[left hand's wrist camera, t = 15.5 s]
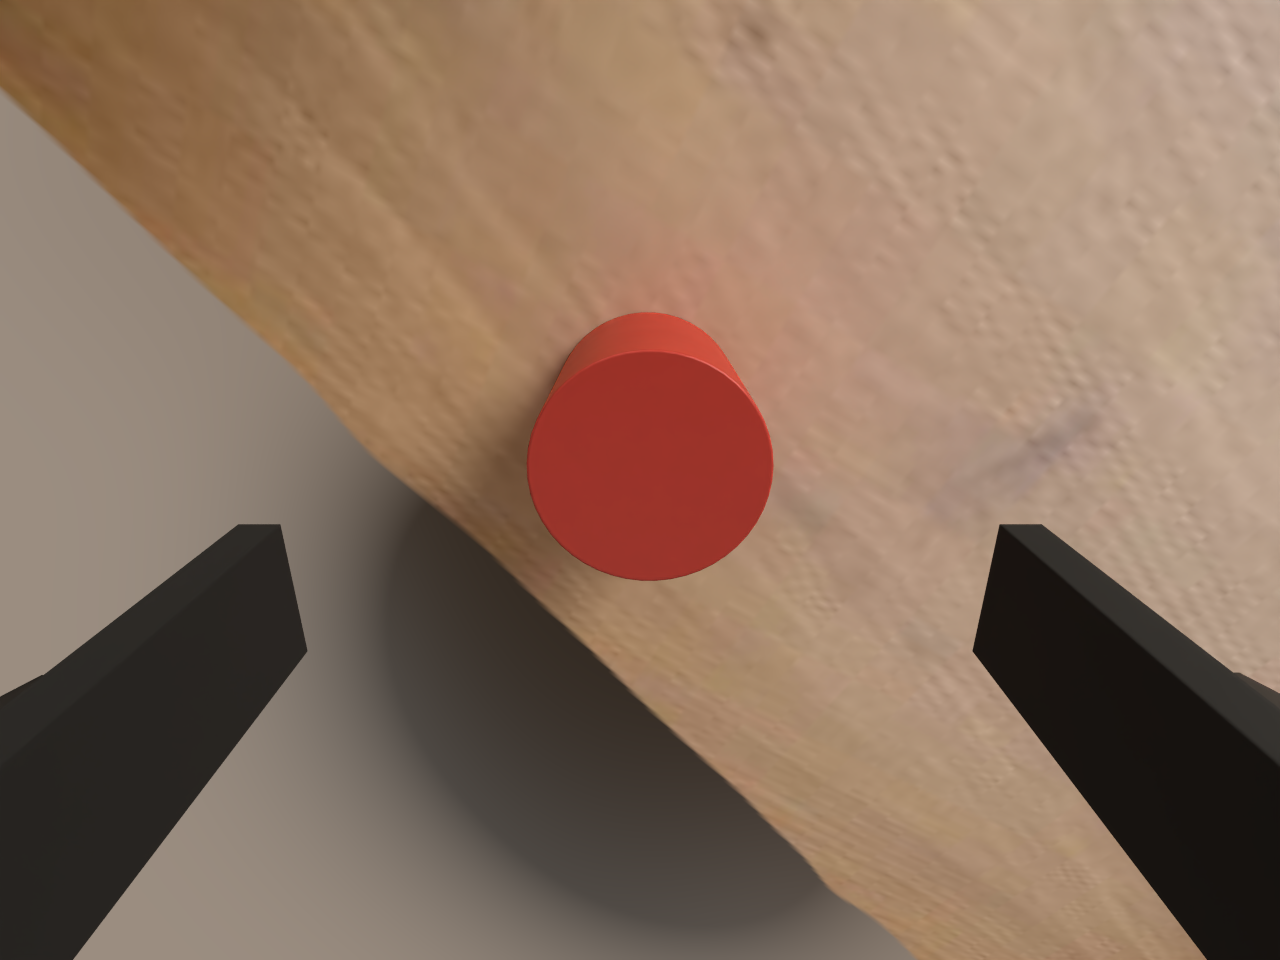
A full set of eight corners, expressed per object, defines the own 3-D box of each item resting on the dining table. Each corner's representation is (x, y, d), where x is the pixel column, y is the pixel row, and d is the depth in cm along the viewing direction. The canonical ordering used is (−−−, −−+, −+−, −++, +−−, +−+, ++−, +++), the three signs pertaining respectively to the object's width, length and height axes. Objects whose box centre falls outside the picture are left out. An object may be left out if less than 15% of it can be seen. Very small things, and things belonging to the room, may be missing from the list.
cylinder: (726, 493, 28) (756, 588, 21) (554, 482, 28) (524, 574, 21) (748, 319, 26) (791, 359, 18) (559, 305, 25) (527, 339, 18)
